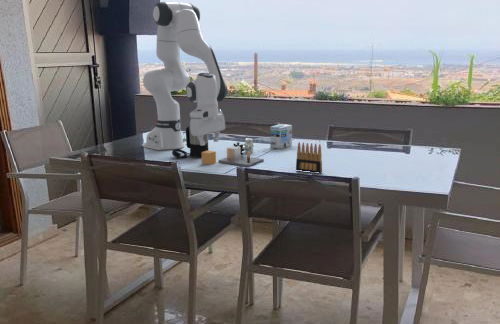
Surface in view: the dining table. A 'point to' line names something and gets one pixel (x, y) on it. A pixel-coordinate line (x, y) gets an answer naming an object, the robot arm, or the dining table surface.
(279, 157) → the dining table surface
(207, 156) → the orange wooden block
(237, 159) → the junction plate
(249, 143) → the valve
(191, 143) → the milk frother
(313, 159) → the ammunition clip
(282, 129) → the light bulb box
